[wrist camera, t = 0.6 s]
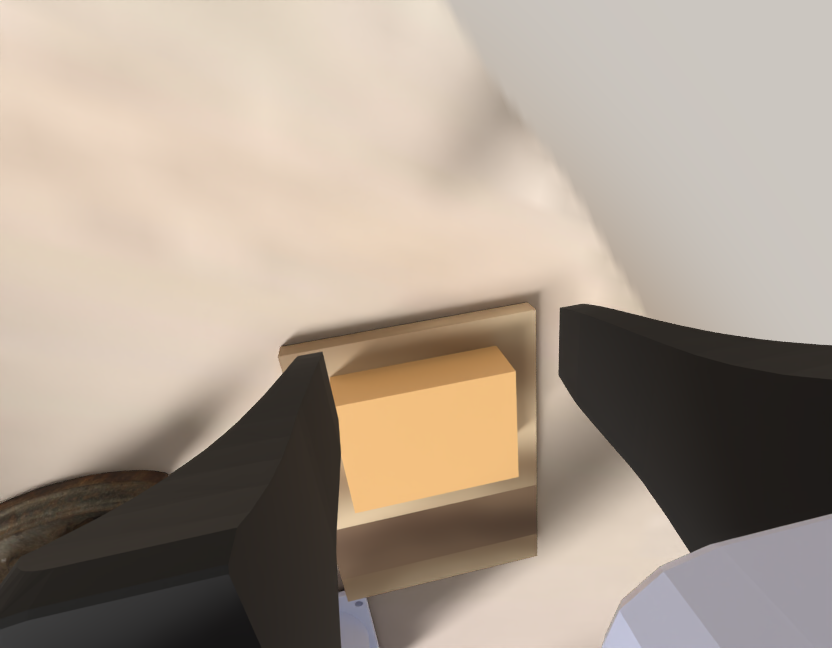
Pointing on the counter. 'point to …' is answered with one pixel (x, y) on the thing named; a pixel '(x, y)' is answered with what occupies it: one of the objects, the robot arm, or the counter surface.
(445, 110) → the counter surface
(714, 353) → the robot arm
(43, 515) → the clothes iron
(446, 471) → the wooden block
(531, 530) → the board
